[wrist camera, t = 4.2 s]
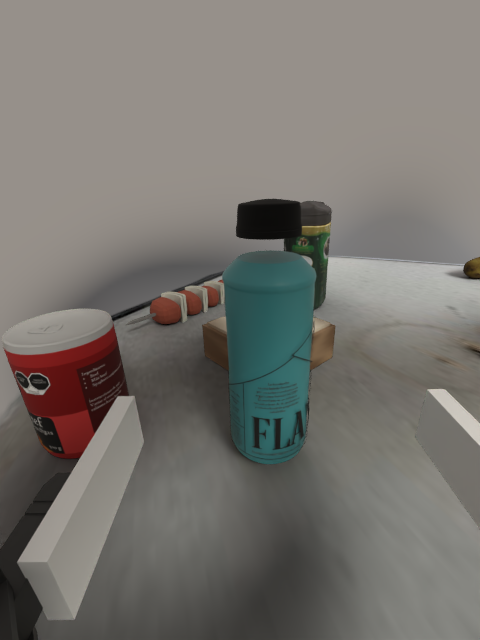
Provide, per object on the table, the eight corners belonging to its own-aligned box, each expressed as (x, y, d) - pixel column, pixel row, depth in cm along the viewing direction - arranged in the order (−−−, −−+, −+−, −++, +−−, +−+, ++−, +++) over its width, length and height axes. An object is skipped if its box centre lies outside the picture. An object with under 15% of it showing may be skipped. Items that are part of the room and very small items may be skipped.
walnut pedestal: (267, 329, 48) (267, 300, 46) (332, 357, 40) (335, 322, 38) (205, 355, 41) (202, 322, 39) (267, 396, 33) (267, 355, 31)
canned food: (46, 417, 31) (11, 318, 26) (129, 395, 34) (109, 302, 29) (36, 476, 24) (-14, 357, 20) (139, 441, 27) (115, 331, 23)
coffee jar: (290, 293, 65) (293, 200, 57) (327, 297, 62) (336, 199, 54) (276, 308, 57) (278, 202, 49) (319, 313, 54) (327, 201, 46)
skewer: (253, 273, 65) (133, 313, 44) (253, 294, 67) (137, 342, 45) (235, 270, 68) (113, 307, 47) (235, 290, 70) (118, 334, 48)
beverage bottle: (244, 491, 22) (233, 202, 14) (221, 430, 28) (205, 200, 20) (321, 467, 24) (349, 197, 16) (285, 414, 30) (292, 196, 22)
